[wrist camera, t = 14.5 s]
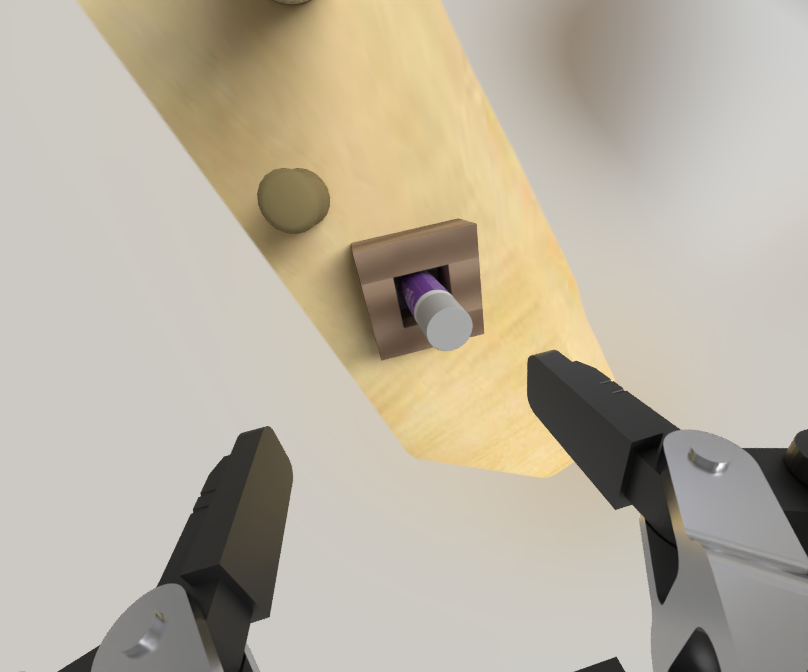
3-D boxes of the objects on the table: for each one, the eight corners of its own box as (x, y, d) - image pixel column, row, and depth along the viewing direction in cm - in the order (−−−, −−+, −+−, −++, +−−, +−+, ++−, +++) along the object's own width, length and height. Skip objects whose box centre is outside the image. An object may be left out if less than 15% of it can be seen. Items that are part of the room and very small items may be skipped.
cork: (262, 193, 33) (229, 196, 24) (301, 155, 33) (284, 142, 23) (303, 237, 36) (289, 255, 26) (341, 202, 35) (340, 209, 26)
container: (392, 275, 40) (417, 320, 27) (424, 260, 40) (465, 297, 26) (406, 305, 42) (435, 360, 29) (436, 291, 42) (479, 339, 29)
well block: (351, 243, 37) (352, 252, 32) (458, 218, 38) (476, 223, 33) (376, 339, 44) (381, 360, 39) (467, 316, 45) (484, 333, 40)
